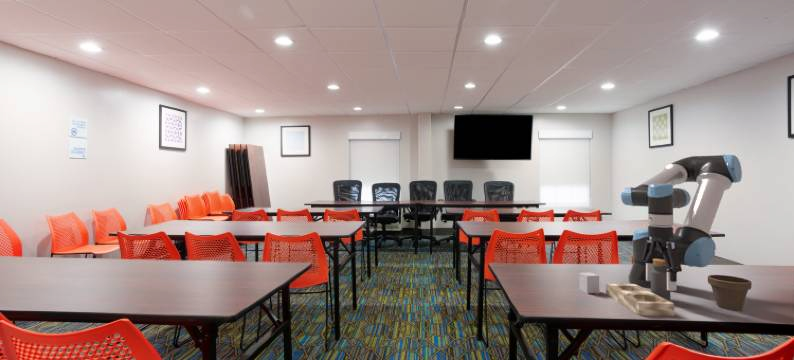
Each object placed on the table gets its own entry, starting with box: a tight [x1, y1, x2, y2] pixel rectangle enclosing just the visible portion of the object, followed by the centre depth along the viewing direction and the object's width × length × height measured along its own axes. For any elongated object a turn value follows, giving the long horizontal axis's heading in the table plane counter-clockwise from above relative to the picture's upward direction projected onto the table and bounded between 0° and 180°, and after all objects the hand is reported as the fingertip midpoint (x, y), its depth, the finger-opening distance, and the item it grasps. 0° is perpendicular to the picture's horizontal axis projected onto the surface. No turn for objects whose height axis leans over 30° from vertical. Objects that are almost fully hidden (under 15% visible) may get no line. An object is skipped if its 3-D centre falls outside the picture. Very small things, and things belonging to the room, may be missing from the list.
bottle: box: [650, 259, 671, 302], centre depth 136 cm, size 6×6×15 cm
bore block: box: [605, 283, 675, 317], centre depth 133 cm, size 11×22×4 cm, turn 176°
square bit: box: [579, 271, 600, 294], centre depth 147 cm, size 5×5×7 cm
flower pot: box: [707, 274, 753, 311], centre depth 129 cm, size 12×11×10 cm
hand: (660, 285), depth 136 cm, fingers open, 11 cm apart
